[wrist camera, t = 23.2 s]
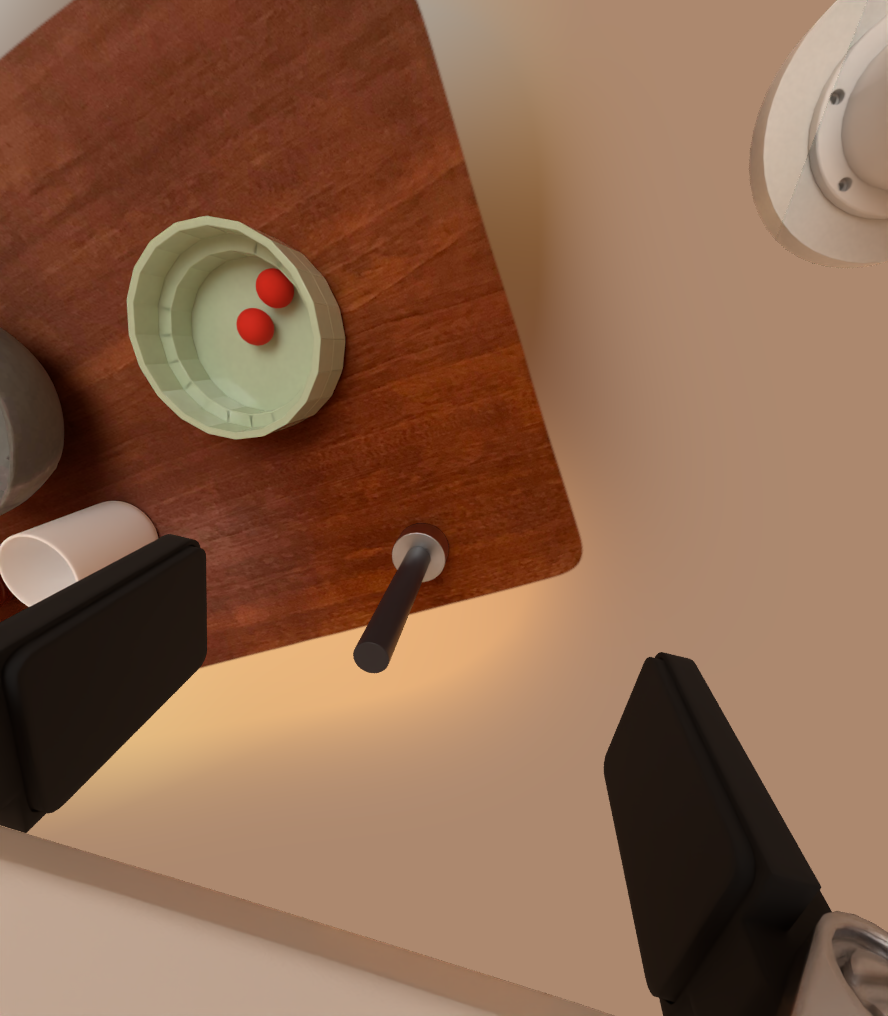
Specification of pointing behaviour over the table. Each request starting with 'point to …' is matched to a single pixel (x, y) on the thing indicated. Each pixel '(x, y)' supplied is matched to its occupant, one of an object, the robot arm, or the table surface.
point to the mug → (5, 593)
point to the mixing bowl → (232, 329)
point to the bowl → (26, 424)
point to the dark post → (401, 593)
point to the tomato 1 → (255, 326)
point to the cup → (71, 548)
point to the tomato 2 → (274, 288)
